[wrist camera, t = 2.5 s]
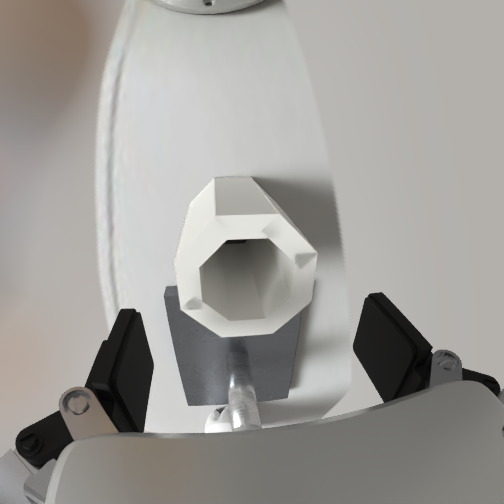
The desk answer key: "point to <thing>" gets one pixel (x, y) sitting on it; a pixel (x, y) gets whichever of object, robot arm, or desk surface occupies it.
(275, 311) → the white hollow octagonal tube
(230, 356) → the roll holder
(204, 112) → the desk surface
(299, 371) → the desk surface
